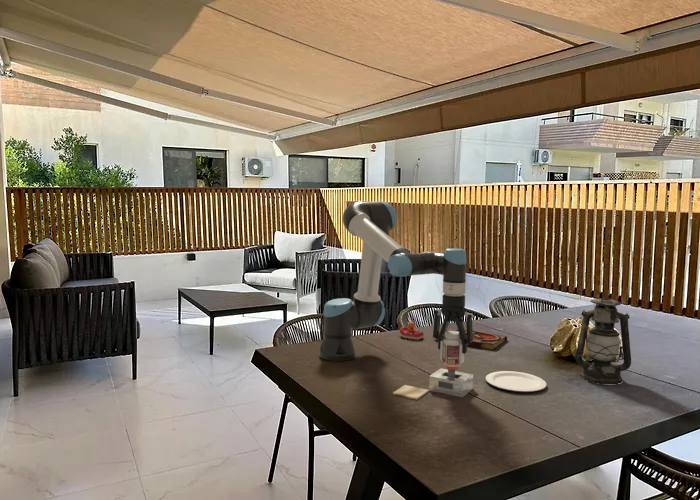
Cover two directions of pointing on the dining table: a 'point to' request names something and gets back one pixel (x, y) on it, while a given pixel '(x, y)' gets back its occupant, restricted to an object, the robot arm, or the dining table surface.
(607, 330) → the lantern
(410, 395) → the cork pad
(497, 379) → the plate
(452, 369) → the lever
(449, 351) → the pill bottle
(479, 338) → the book
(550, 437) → the dining table surface
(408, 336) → the toy boat
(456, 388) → the grey boxy piece
